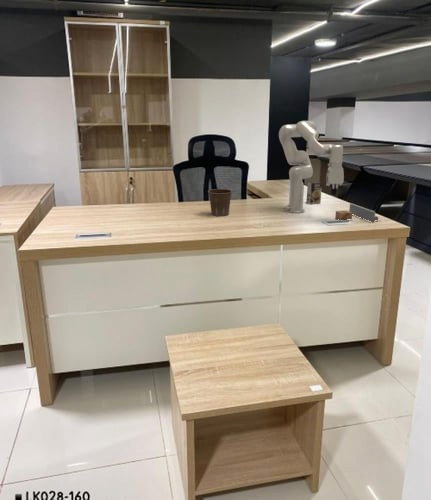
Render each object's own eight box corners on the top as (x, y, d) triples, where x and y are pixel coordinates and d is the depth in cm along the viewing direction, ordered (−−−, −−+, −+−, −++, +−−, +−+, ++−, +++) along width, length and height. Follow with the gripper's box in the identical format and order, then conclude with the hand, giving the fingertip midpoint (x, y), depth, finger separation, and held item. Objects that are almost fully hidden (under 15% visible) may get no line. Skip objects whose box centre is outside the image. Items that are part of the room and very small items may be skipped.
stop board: (371, 222, 268) (372, 211, 266) (349, 213, 292) (350, 203, 290) (379, 222, 269) (380, 211, 267) (356, 213, 293) (357, 203, 291)
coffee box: (310, 204, 322) (312, 183, 317) (305, 203, 327) (307, 182, 322) (320, 203, 325) (322, 182, 320) (315, 202, 331) (317, 181, 326)
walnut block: (340, 221, 273) (340, 213, 271) (335, 218, 280) (335, 211, 278) (351, 220, 274) (352, 212, 273) (346, 218, 281) (347, 210, 279)
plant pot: (229, 217, 281) (229, 193, 277) (206, 216, 285) (205, 192, 280) (233, 212, 297) (233, 189, 292) (211, 211, 300) (210, 188, 295)
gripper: (327, 166, 259) (325, 196, 264) (349, 165, 262) (347, 195, 268) (321, 165, 266) (320, 194, 271) (343, 164, 269) (341, 193, 275)
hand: (333, 194), depth 269 cm, fingers closed
